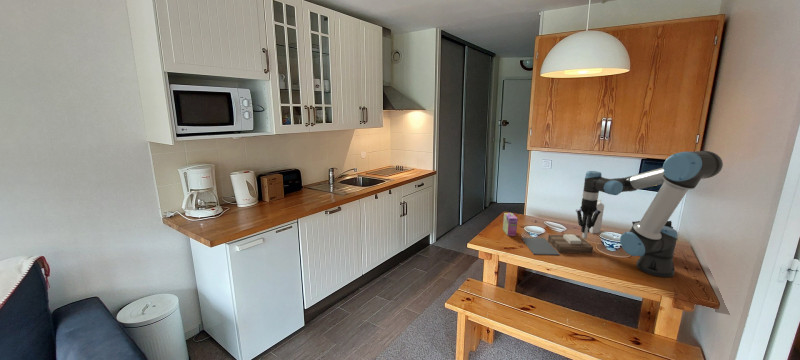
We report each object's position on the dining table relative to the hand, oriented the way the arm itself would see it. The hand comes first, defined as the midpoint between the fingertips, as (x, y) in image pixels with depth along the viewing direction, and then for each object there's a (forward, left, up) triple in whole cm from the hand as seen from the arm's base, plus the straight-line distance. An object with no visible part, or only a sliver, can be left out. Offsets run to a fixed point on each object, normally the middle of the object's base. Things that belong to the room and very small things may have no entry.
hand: (584, 237), depth 189 cm
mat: (0, +25, -6) cm, 26 cm away
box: (+20, +37, -6) cm, 42 cm away
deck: (0, +8, -6) cm, 10 cm away
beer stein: (-4, -33, -6) cm, 34 cm away
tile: (0, +7, -2) cm, 7 cm away
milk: (+25, -18, -6) cm, 31 cm away
